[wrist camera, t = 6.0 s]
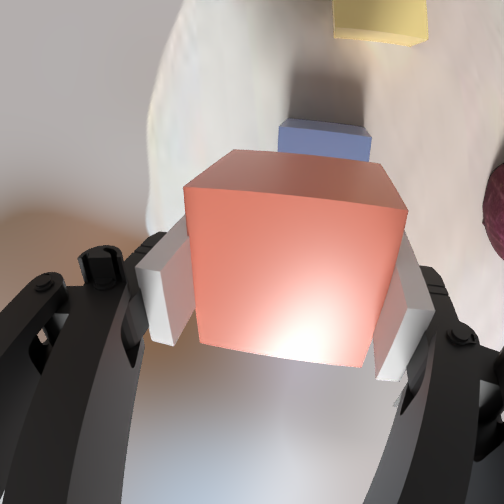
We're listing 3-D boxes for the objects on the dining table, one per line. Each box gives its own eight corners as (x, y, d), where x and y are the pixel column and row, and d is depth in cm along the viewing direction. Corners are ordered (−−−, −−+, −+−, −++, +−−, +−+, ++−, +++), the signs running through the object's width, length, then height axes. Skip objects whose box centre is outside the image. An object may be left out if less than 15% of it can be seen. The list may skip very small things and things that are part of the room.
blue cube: (288, 118, 23) (278, 126, 19) (363, 126, 22) (371, 137, 18) (284, 187, 27) (274, 210, 22) (354, 196, 25) (359, 221, 21)
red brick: (233, 149, 13) (183, 186, 8) (380, 163, 12) (408, 210, 7) (235, 271, 16) (200, 342, 11) (357, 287, 15) (361, 367, 10)
